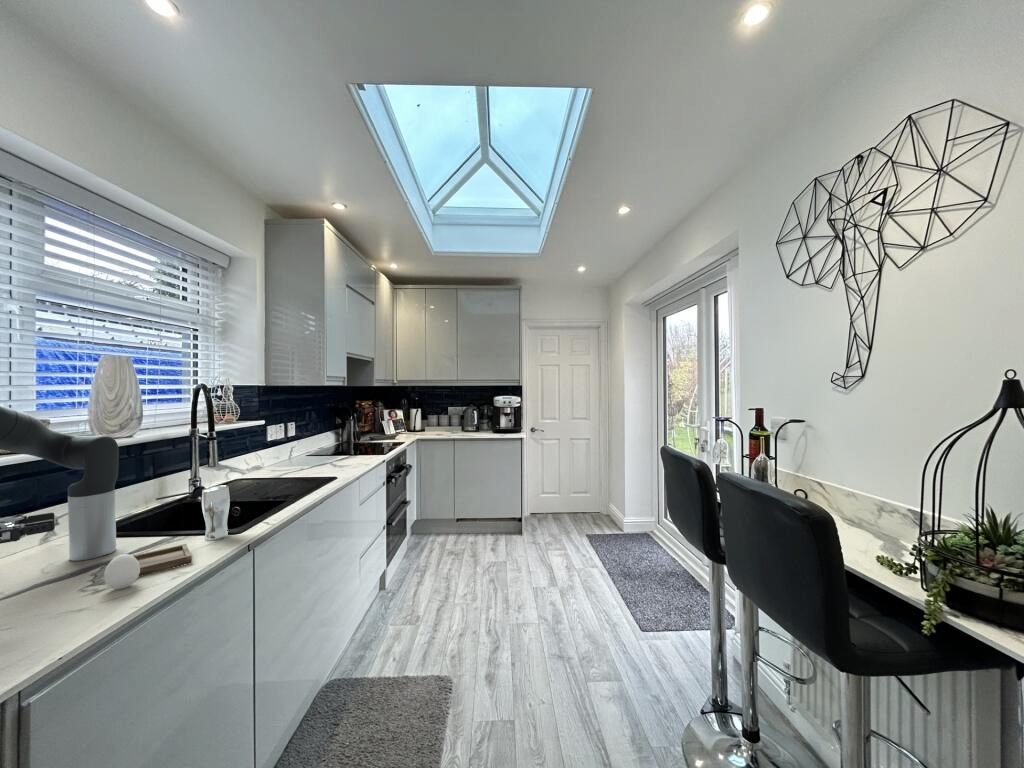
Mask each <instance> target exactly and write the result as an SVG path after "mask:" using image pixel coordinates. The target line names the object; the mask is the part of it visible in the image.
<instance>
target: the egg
mask: <svg viewBox="0 0 1024 768" xmlns="http://www.w3.org/2000/svg"><path fill="white" fill-rule="evenodd" d="M139 573H140V564H139V562H138V560H137V559H136V558H135V557H134V555H131V554H128V553H124V554H119V555H116V556H115V557H114V558H113V559H112V560H110V561H109V562H108V564H107V566H106V568H105V570H104V573H103V580H104V583H105V585H106V586H108V588H111V589H114V590H122V589H125V588H128V587H129V586H131V585H132V584H134V583H135V582H136V581H137V579H138V576H139ZM139 577H140V576H139Z"/></svg>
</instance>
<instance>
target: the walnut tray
mask: <svg viewBox="0 0 1024 768" xmlns="http://www.w3.org/2000/svg"><path fill="white" fill-rule="evenodd" d="M133 556H134V557H135V558H136V559H137V560H138V562H139V564H140V573H139V577H143V576H147V575H151V574H155V573H157V572H158V571H159V572H163V571H167V570H170V569H169V568H171V569H174V568H173V567H175V568H178V567H177V566H179V567H182V566H181V565H183V566H185V565H184V564H187V565H190V564H189V563H191V564H192V553H191V552H190V549H189V547H188V545H187V543H183V544H179V545H174V546H170V547H166V548H161V549H158V550H157V549H156V550H151V551H148V552H144V553H138V554H134V555H133ZM166 569H167V570H166ZM154 572H155V573H154ZM159 572H158V573H159ZM142 575H143V576H142Z"/></svg>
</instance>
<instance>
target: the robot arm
mask: <svg viewBox="0 0 1024 768" xmlns="http://www.w3.org/2000/svg"><path fill="white" fill-rule="evenodd" d="M0 450H2V451H7V452H11V453H14V454H15V453H16V454H19V455H20V454H22V455H27V456H34V457H37V458H39V459H43V460H45V461H48V462H51V463H54V464H56V465H58V466H61V467H64V468H67V469H71V470H83V477H82V479H80V480H79V481H77V482H74V483H72V484H70V485H69V486H68V488H67V507H68V508H67V509H68V511H67V512H68V514H67V515H68V516H67V517H68V559H69V560H70V561H73V562H75V561H76V562H79V561H87V560H91V559H95V558H99V557H104V556H105V555H106V554H107V555H108V554H111V553H114V552H115V551H117V527H116V526H117V524H116V522H117V519H116V489H115V487H116V483H117V480H118V477H119V464H120V463H119V462H120V461H119V460H120V455H119V454H120V448H119V444H118V443H117V440H116V439H115V438H114V437H113V436H110V435H101V434H100V435H98V434H95V435H72V434H67V433H62V432H59V431H55V430H54V429H53V430H52V429H50V428H48V427H47V426H46V425H45V424H44V422H42V421H41V420H40V419H39V418H37V417H36V416H34V415H32V414H30V413H26V412H24V411H21V410H18V409H15V408H13V407H9V406H5V405H2V404H0ZM54 530H55V513H54V512H52V511H49V512H43V513H39V514H32V515H25V514H21V513H20V514H16V515H11V516H5V517H4V516H3V517H0V545H1V544H6V543H11V542H13V543H15V542H17V541H20V540H21V539H23V538H26V537H27V536H33V535H37V534H44V533H49V532H52V531H54ZM103 555H104V556H103Z"/></svg>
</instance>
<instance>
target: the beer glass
mask: <svg viewBox="0 0 1024 768" xmlns="http://www.w3.org/2000/svg"><path fill="white" fill-rule="evenodd" d="M201 493H202V494H201V509H202V514H203V518H204V522H205V535H204V541H217V540H221V539H224V538H227V537H228V536H229V535H228V532H229V529H228V517H229V510H230V506H231V505H230V504H231V503H230V502H231V501H230V499H231V498H230V490H229V486H228V485H217V486H214V485H213V486H209V487H206V488H203V489H202V491H201ZM227 530H228V531H227ZM227 535H228V536H227ZM226 536H227V537H226ZM223 537H224V538H223ZM220 538H221V539H220ZM216 539H217V540H216Z"/></svg>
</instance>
